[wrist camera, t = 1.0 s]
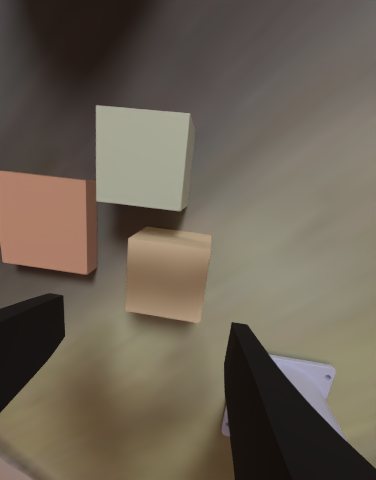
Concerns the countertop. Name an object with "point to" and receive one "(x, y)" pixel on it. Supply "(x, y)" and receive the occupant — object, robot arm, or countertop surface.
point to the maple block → (167, 273)
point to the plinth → (48, 222)
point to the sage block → (143, 157)
